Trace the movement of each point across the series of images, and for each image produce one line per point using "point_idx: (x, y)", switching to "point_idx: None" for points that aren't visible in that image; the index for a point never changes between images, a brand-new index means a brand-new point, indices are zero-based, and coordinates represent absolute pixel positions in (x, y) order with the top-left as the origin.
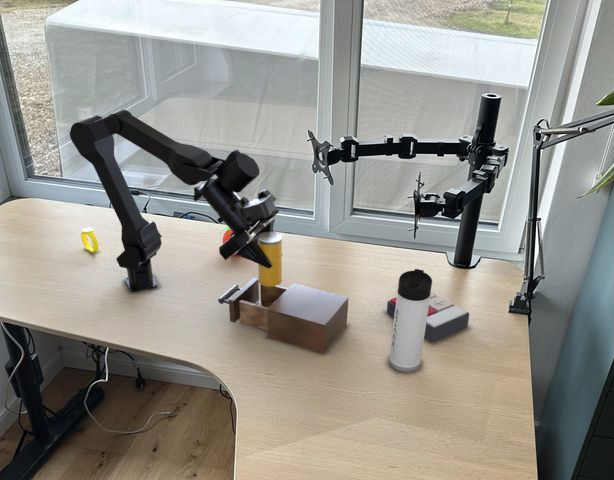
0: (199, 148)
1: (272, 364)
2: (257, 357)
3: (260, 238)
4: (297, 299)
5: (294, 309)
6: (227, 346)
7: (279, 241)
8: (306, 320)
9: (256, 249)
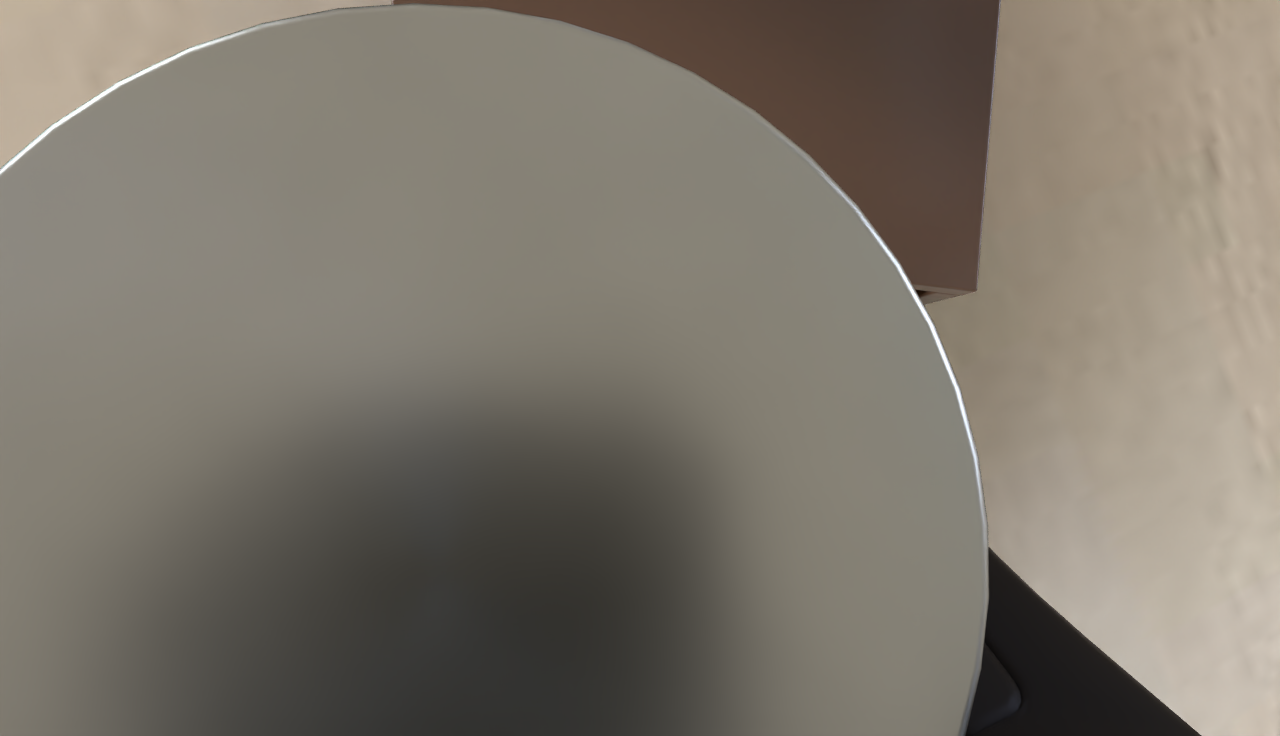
0: None
1: (1114, 180)
2: (1083, 302)
3: None
4: (690, 62)
5: (884, 30)
6: (1048, 549)
7: (604, 53)
8: None
9: (1165, 711)
